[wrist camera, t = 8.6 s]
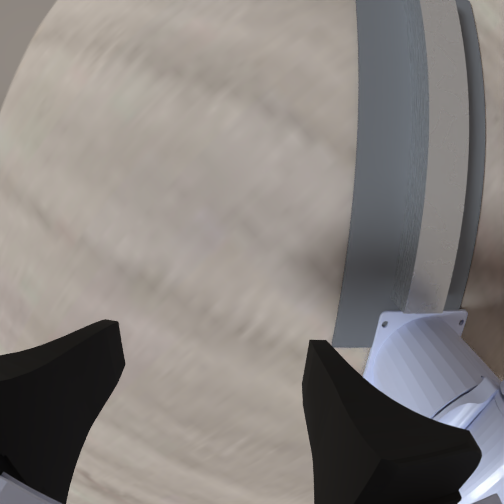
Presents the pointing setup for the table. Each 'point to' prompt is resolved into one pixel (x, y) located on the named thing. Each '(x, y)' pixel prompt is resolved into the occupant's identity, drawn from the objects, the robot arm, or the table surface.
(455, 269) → the rubber mat
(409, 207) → the steel rail
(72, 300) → the table surface
